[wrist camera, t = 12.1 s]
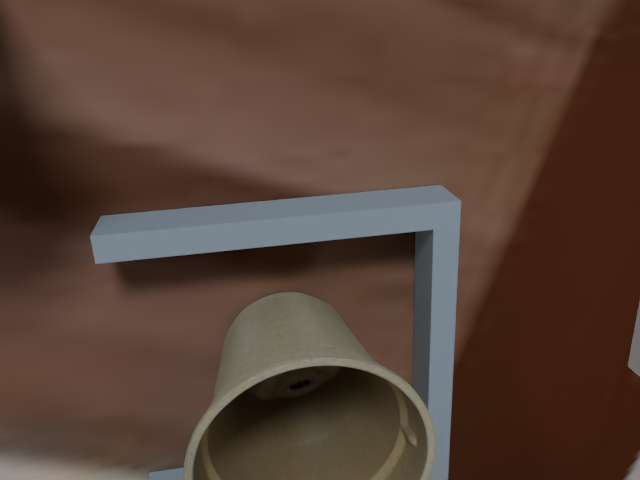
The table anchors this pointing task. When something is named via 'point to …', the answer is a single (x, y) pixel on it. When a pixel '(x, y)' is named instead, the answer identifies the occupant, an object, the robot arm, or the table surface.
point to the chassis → (322, 225)
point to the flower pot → (307, 404)
